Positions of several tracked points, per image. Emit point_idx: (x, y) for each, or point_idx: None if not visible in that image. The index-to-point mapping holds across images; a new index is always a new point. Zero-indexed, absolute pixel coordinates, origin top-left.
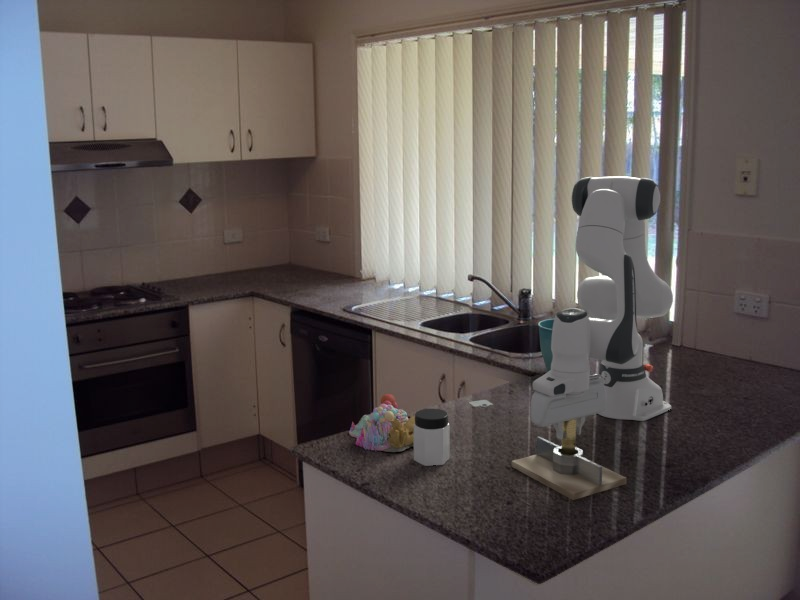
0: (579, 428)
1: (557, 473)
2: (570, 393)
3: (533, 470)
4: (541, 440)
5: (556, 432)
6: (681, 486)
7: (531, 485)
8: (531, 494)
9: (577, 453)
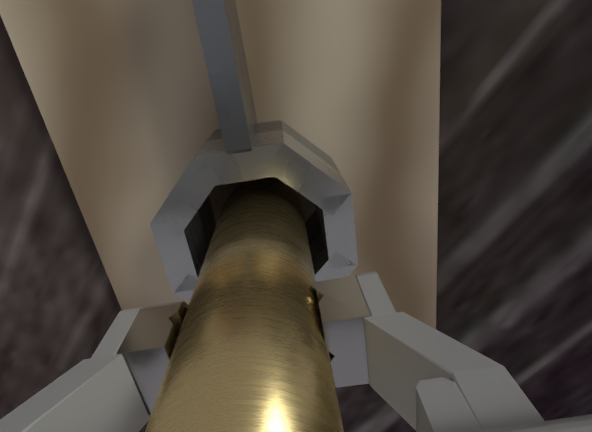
0: (374, 381)
1: None
2: None
3: (72, 142)
4: None
5: (101, 342)
6: (563, 401)
7: (46, 220)
8: (19, 293)
9: (324, 241)
